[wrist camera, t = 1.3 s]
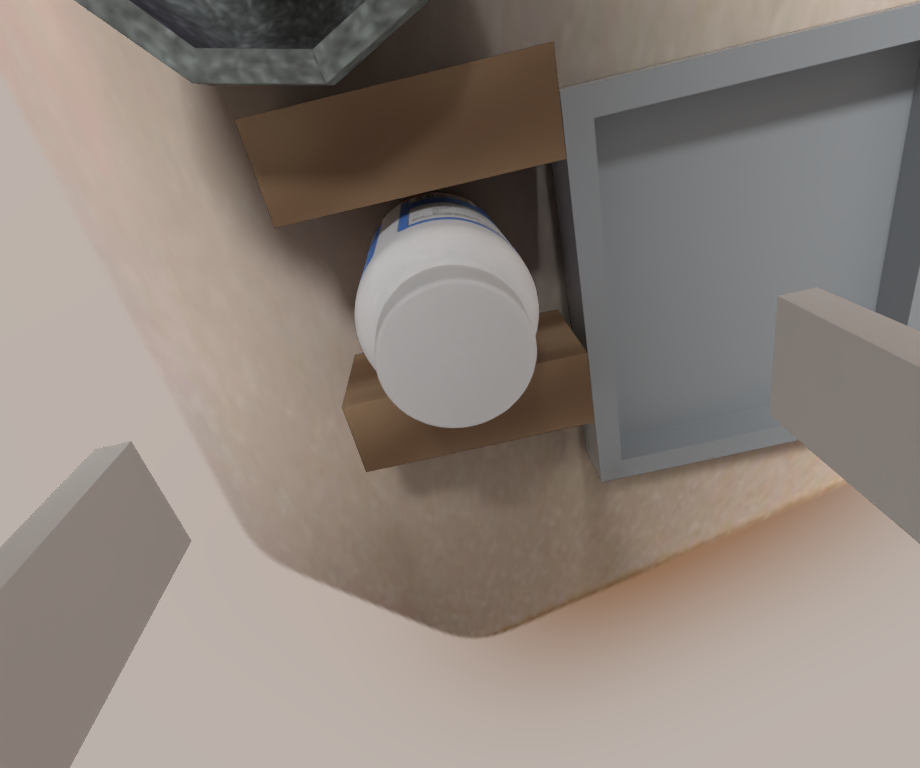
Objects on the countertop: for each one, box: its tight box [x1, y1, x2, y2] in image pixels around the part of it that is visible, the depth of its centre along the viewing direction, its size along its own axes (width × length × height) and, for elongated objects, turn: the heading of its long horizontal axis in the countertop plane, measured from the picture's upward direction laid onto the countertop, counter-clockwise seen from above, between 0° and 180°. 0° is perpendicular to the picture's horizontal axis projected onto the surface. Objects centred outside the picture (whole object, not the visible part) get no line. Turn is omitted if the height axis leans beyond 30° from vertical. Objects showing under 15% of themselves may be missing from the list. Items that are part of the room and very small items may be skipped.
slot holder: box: [234, 42, 595, 472], centre depth 19 cm, size 12×9×4 cm
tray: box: [551, 1, 920, 482], centre depth 21 cm, size 16×14×2 cm
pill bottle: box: [355, 192, 539, 428], centre depth 17 cm, size 6×5×10 cm
